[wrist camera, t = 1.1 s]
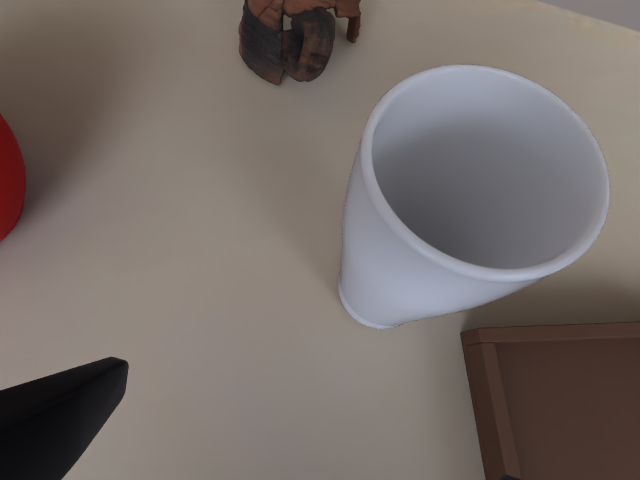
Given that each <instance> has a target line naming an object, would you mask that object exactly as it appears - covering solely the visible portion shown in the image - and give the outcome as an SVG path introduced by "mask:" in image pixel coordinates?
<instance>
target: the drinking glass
mask: <svg viewBox="0 0 640 480" xmlns="http://www.w3.org/2000/svg"><path fill="white" fill-rule="evenodd" d="M609 203H610V180H609V174H608V169H607V165H606V162H605V159H604V156H603V153H602V151H601V149H600V147H599V145H598V143H597V141H596V139H595V137H594V136H593V134H592V133H591V131H590V130H589V128H588V127H587V125H586V124H585V123H584V122H583V120H582V119H581V118H580V117H579V116H578V115H577V114H576V113H575V112H574V111H573V109H572V108H570V107H569V106H568V105H567V104H566V103H565V102H564V101H563V100H561V99H560V98H559V97H557V96H556V95H555V94H553V93H552V92H550V91H549V90H547V89H546V88H544V87H543V86H541V85H539V84H537V83H536V82H534V81H531V80H529V79H527V78H525V77H523V76H520V75H518V74H515V73H512V72H509V71H506V70H503V69H499V68H495V67H489V66H483V65H474V64H454V65H445V66H439V67H434V68H430V69H427V70H423V71H420V72H418V73H416V74H413V75H411V76H409V77H407V78H406V79H404V80H402V81H401V82H399V83H398V84H396V85H395V86H393V87H392V88H391V89H390V90H389V91H388V92H387V93H386V94H385V95H384V96H383V97H382V98H381V99H380V100H379V101H378V103H377V104H376V105H375V107H374V108H373V110H372V112H371V114H370V115H369V118H368V120H367V122H366V124H365V127H364V131H363V134H362V138H361V140H360V143H359V146H358V150H357V153H356V156H355V159H354V163H353V166H352V170H351V173H350V177H349V181H348V186H347V191H346V197H345V202H344V210H343V222H342V247H341V270H340V273H339V277H338V292H339V297H340V299H341V302H342V304H343V306H344V308H345V309H346V311H347V312H348V313H349V314H350V315H351V316H352V317H353V318H354V319H355V320H356V321H358V322H359V323H361V324H363V325H365V326H368V327H371V328H376V329H390V328H394V327H397V326H400V325H402V324H404V323H408V322H412V321H417V320H422V319H427V318H433V317H438V316H443V315H448V314H452V313H457V312H461V311H465V310H469V309H473V308H476V307H479V306H482V305H485V304H488V303H490V302H493V301H496V300H498V299H501V298H503V297H506V296H508V295H510V294H512V293H515V292H517V291H519V290H521V289H523V288H525V287H527V286H529V285H532V284H534V283H536V282H537V281H539V280H541V279H543V278H545V277H547V276H549V275H551V274H553V273H555V272H557V271H559V270H561V269H563V268H565V267H567V266H568V265H570V264H571V263H573V262H574V261H576V260H577V259H578V258H579V257H581V256H582V255H583V254H584V253H585V252H586V251H587V250H588V249H589V248H590V247H591V245H592V244H593V243H594V241H595V240H596V238H597V237H598V235H599V233H600V232H601V230H602V228H603V225H604V223H605V220H606V218H607V213H608V209H609Z"/></svg>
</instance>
